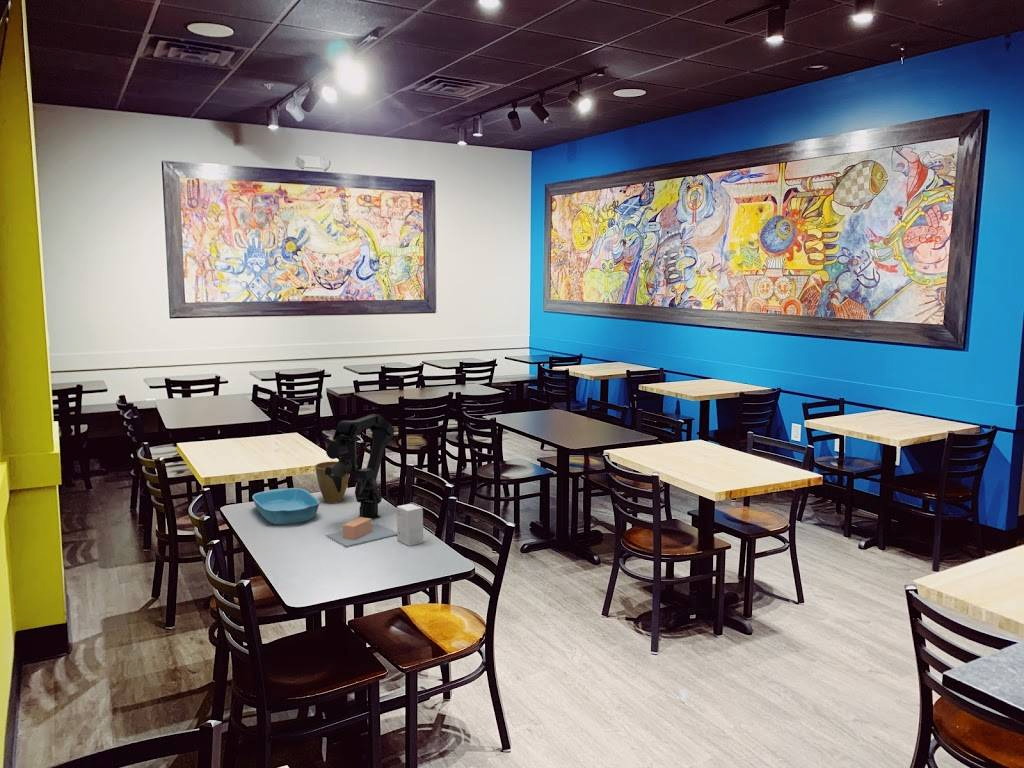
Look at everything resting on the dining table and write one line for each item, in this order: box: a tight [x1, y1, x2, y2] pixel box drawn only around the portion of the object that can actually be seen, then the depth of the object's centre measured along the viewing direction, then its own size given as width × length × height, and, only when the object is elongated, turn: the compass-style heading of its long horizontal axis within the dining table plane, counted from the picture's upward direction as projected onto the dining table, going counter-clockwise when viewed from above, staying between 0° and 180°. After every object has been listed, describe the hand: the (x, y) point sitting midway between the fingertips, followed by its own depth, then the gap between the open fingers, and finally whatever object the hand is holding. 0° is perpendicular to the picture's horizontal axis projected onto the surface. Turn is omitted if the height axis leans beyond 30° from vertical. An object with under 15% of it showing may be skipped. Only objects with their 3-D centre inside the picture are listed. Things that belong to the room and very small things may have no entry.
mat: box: [324, 523, 397, 548], centre depth 289 cm, size 22×16×1 cm
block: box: [342, 516, 372, 540], centre depth 288 cm, size 5×5×11 cm
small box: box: [396, 503, 424, 547], centre depth 282 cm, size 8×6×13 cm
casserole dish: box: [251, 487, 320, 526], centre depth 315 cm, size 37×22×7 cm, turn 30°
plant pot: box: [314, 460, 350, 504], centre depth 334 cm, size 15×15×16 cm
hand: (349, 493), depth 299 cm, fingers open, 9 cm apart
